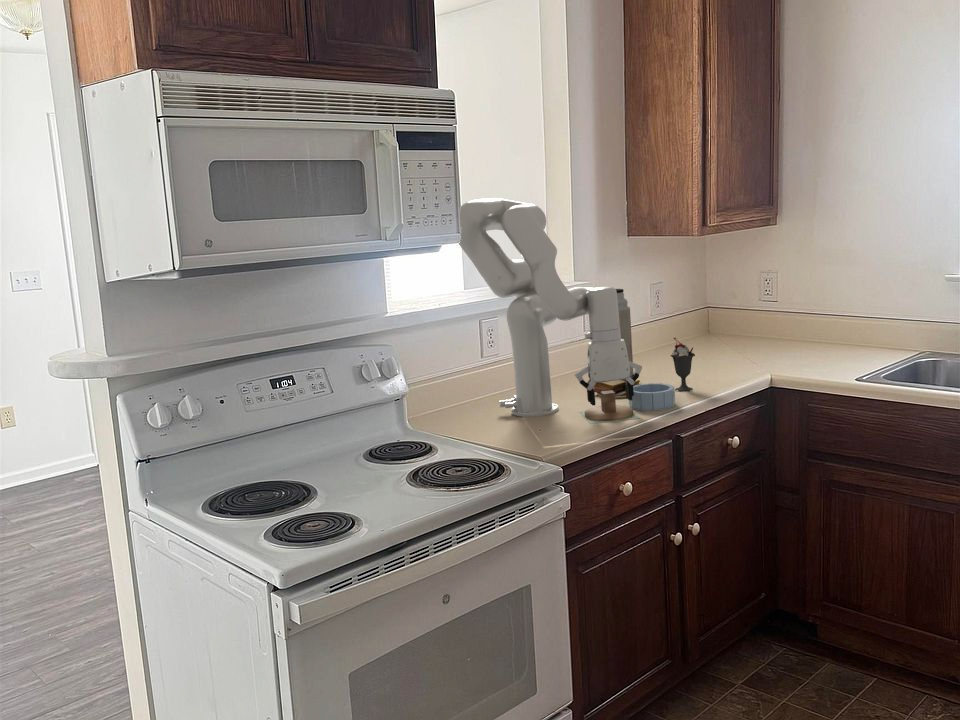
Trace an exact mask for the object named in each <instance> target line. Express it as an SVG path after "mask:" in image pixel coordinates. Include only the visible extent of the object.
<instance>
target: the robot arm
mask: <svg viewBox="0 0 960 720" xmlns="http://www.w3.org/2000/svg"><path fill="white" fill-rule="evenodd" d="M460 207H461V227H462V240H461V242H460V243H458V245H459V246H460V248H461V249H462V251H463V252H464V253H465V254H466V256H467V257H468V258H469V260H470V261H471V263H472V264H473V265H474V267H475V268H476V269H477V271H478V273H479V275H480V276H481V277H482V278H483V280H484V281H485V283H486V285H488V287H489V289H490V291H491V292H492V293H493V294H494V295H495V296H497V297H499V298H501V299H506V298H511V297H516V298H515V299H513V300H512V301H511V302H510V304H509V305H508V307H507V311H506V322H507V327H508V329H509V334H510V335H509V336H510V340H511V349H512V350H511V351H512V358H513V360H512V361H513V373H514V374H513V375H514V385H515V394H514V395H513V397H511V398H510V399H502V400H501V399H500V400H499V401H498V404H499V408H505V409H510V408H511V415H513V416H516V417H520V418H521V417H522V418H523V417H524V418H525V417H527V418H534V417H542V416H548V415H552V414H554V413H555V414H556V412H558V411H559V405H558V404H557V403H553V397H552V396H553V395H552V382H551V369H550V368H551V367H550V354H549V343H548V338H547V336H546V335H547V334H546V332H545V329H544V327H546V326H548V325H551V324H552V323H554V322H555V321H556V320H557V319H558V320H560V321H567V322H568V321H571V320H573V319H574V320H575V319H577V318H580V317H582V316H585V315H588V323H589V330H588V331H589V332H587V333H585V334H584V339H585V340H590V342H588V346H587V365H586V366H584V367H583V368H582V369H580V370H578V371H577V372H576V373H575V374H574V376H575V379H577V381H578V383H579V384H580V385H581V386H582V387H583V388H585V389H586V394H587V395H586V397H587V401H588V403H589V404H590V405H592V406H596V403H597V402H596V395H595V393H596V392H594V390H593V387H594V385H595V384H596V382H597V383H600V382H608V381H616V380H623V379H625V380H626V381H627V383H626V384H625V387H626V398H625V399H627V400H628V401H629V400H632V396H634V390H633V384H634V383H635V381H637V380H638V378H640V374H641V373H642V370H643V366H642V365H640V364H638V363H635V362H634V361H633V362H630V361H629V359H628V353H627V348H626V344H625V341H624V340H623V339H621V335H620V324H619V312H618V300H617V291H616V289H617V288H615V287H613V286H597V287H585V286H576V287H572V288H567V286H566V285H565V284H564V283H563V280H562V279H561V278H560V276H559V274H558V272H557V270H556V260H557V259H556V258H557V256H558V255H557V254H558V248H557V247H556V245H555V244H554V243H553V241H552V240H551V239H550V238H551V237H549V236H548V234H547V233H546V232H545V228H546V226H547V217H546V214H545V212H544V211H543V210H542V208H540V206H538V205H535V204H533V203H526V202H521V201H515V200H510V199H505V198H498V197H497V198H496V197H495V198H494V197H491V198H480V199H474V200H473V199H472V200H469V201H466V202H465V203H463V204H462V205H461V206H460ZM494 230H495V231H497V230H498V231H503V232H504V233H505V234H506V236H507V238H508V239H509V240H510V242H511V243H512V244H513V246H514V247H515V249H516V250H517V251H518V253H519V254H520V256H521V257H522V259H518V258H517V259H512V260H511V259H510V257H509V256H507V254H506V253H505V252H504V250H503V248H502V247H501V246H500V244H499V243H498V242H497V241H496V240H495V239H494V238H492V237H491V236H490V235H489V234H488V231H494ZM630 367H632V368H633V374H632V375H631V377H630ZM586 374H587V375H588V380H587V382H586V381H585V380H584V378H583V376H584V375H586Z"/></svg>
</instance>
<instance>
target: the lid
mask: <svg viewBox="0 0 960 720" xmlns="http://www.w3.org/2000/svg"><path fill="white" fill-rule="evenodd" d="M600 401H601V402H600V405H598V406H593V407H591V408H590V407H589V408H588V409H586V410H584V411H585V417H586V418H587V419H590V420H595V421H612V422H617V421H616V420H621V421H623V420H622V419H626V418H629V417H631V416H633V414H634V413H635V412H634V409H632V408H631V407H630V406H627V405H621V404H618V405H617V403H616V399H615V392H613V391H612V390H611V391H601V396H600ZM633 412H634V413H633Z"/></svg>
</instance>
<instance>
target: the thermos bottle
mask: <svg viewBox="0 0 960 720" xmlns="http://www.w3.org/2000/svg"><path fill="white" fill-rule="evenodd" d="M615 289H616V291H617V300H618V312H619V324H620V335H621V339H623V340H624V341H625V344H626V348H627V353H628V359H629V361H630V362H633V363H634V361H633V343H632V341H633V340H632V322H631V318H632V317H631V307H630V306H628V305H629V304H628V299H626V298H625V293H624V289H623V288H615ZM633 373H634V368H632V367H630V377H631V375H632V374H633ZM622 381H626V380H625V379H623V380H622ZM626 382H627V381H626Z"/></svg>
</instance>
